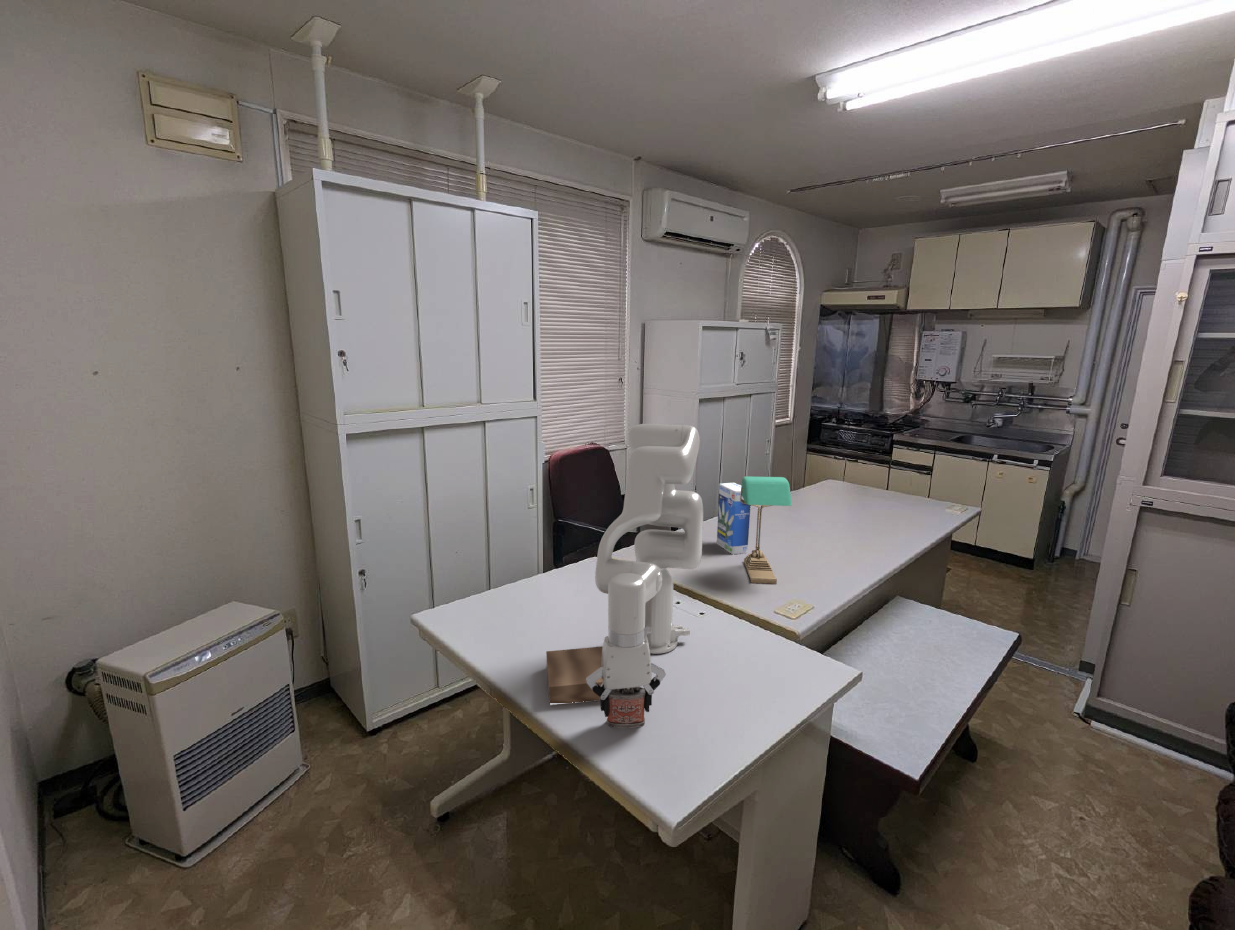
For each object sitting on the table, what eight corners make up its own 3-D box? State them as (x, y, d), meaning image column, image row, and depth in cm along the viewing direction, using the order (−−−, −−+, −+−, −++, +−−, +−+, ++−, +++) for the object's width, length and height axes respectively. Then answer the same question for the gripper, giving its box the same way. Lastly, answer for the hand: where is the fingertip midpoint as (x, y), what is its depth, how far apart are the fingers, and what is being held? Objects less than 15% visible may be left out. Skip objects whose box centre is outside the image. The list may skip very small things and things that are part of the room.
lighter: (644, 717, 116) (644, 675, 115) (645, 727, 113) (646, 684, 111) (606, 717, 116) (606, 675, 114) (607, 728, 113) (607, 685, 111)
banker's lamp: (776, 563, 204) (782, 472, 197) (788, 586, 183) (795, 485, 176) (734, 561, 205) (738, 471, 198) (741, 584, 185) (746, 484, 178)
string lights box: (716, 543, 224) (718, 483, 219) (732, 542, 227) (735, 482, 222) (731, 554, 212) (734, 490, 207) (749, 552, 214) (752, 489, 209)
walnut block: (606, 664, 137) (606, 646, 136) (616, 700, 123) (616, 680, 122) (546, 669, 135) (546, 651, 134) (549, 707, 120) (549, 687, 119)
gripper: (663, 621, 116) (661, 695, 119) (582, 628, 113) (582, 703, 116) (672, 639, 109) (670, 717, 112) (586, 647, 106) (587, 726, 109)
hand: (626, 709), depth 114 cm, fingers closed on lighter, 8 cm apart
